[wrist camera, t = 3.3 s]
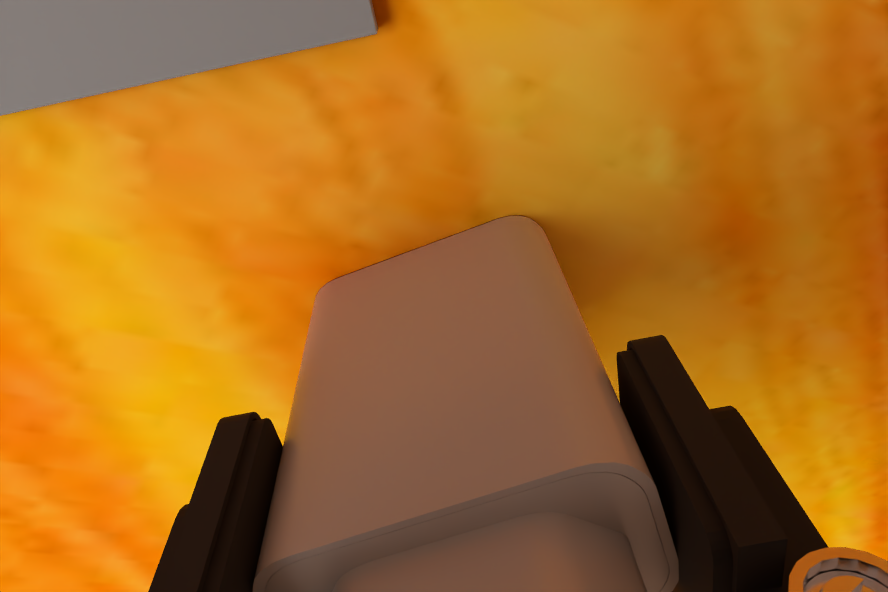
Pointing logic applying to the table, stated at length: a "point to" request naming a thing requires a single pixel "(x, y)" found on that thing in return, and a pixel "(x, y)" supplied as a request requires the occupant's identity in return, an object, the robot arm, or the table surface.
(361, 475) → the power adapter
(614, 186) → the table surface
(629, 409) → the robot arm
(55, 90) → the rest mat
